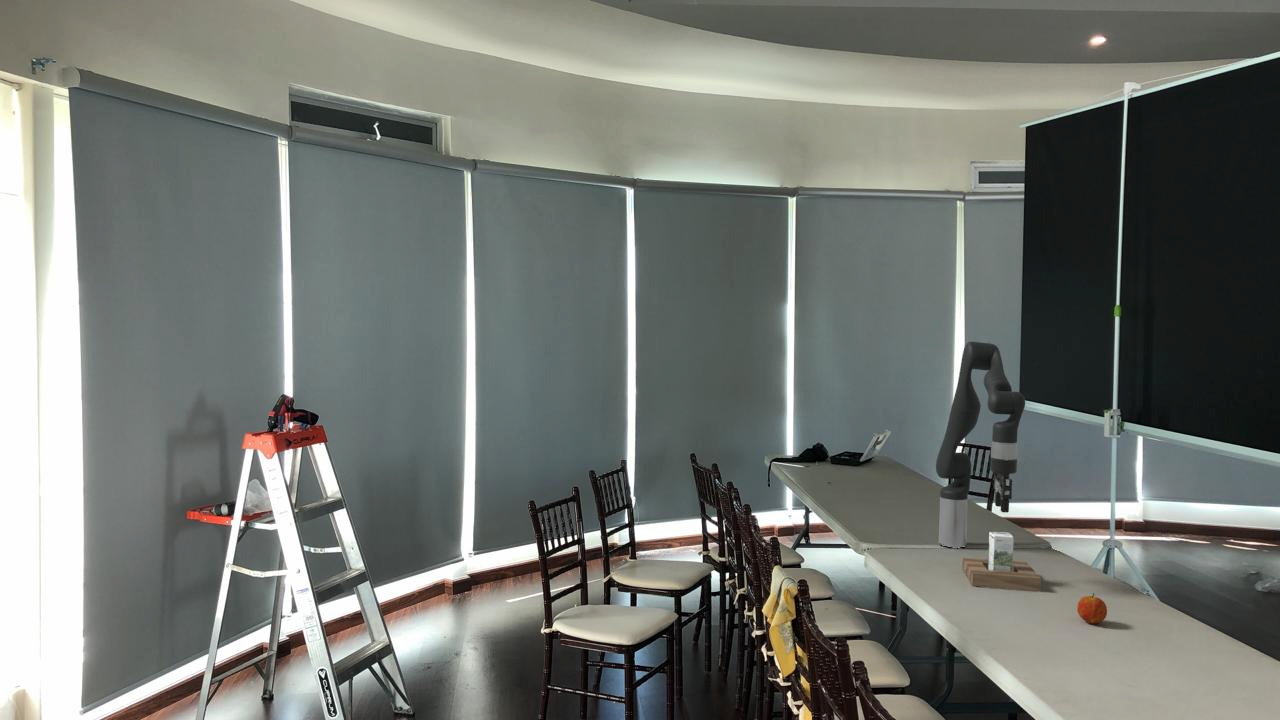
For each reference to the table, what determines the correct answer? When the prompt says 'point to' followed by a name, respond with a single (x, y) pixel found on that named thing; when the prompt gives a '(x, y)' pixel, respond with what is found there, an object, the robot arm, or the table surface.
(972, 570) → the socket block
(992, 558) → the syrup box
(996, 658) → the table surface
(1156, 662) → the table surface
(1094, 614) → the fruit
